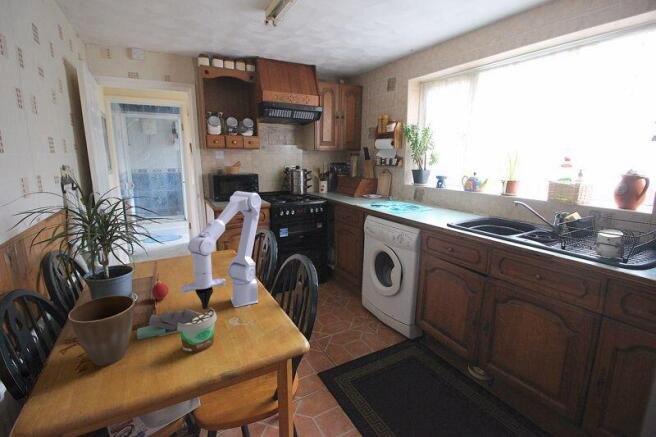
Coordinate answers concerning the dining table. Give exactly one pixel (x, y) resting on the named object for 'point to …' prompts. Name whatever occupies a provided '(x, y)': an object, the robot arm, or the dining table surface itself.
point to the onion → (160, 291)
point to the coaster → (169, 332)
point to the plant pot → (104, 327)
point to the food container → (198, 332)
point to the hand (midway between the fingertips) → (204, 307)
